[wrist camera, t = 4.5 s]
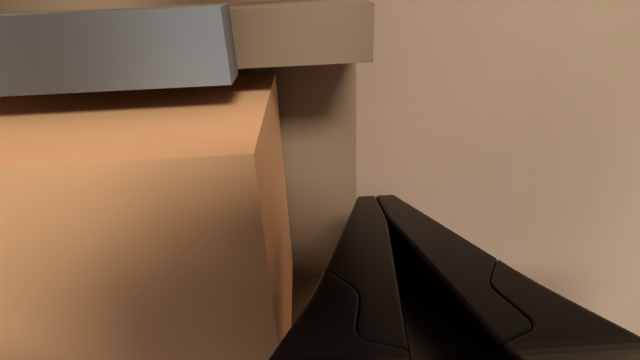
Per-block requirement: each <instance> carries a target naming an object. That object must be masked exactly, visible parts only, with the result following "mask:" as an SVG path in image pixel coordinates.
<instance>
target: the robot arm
mask: <svg viewBox="0 0 640 360" xmlns="http://www.w3.org/2000/svg"><path fill="white" fill-rule="evenodd" d="M269 360H640V336H638V335H636V334H634V333H632V332H630V331H628V330H626V329H624V328H622V327H620V326H618V325H616V324H615V323H613V322H611V321H609V320H607V319H605V318H603V317H601V316H599V315H597V314H595V313H593V312H591V311H589V310H588V309H586V308H584V307H582V306H580V305H578V304H576V303H574V302H572V301H570V300H568V299H566V298H564V297H563V296H561V295H559V294H557V293H555V292H553V291H551V290H549V289H548V288H546V287H544V286H542V285H540V284H538V283H537V282H535V281H533V280H531V279H530V278H528V277H526V276H525V275H523V274H521V273H520V272H518V271H516V270H514V269H513V268H511V267H510V266H508V265H506V264H505V263H503V262H501V261H500V260H497V259H496V258H495V257H493V256H491V255H490V254H488V253H487V252H485V251H483V250H482V249H480V248H479V247H477V246H475V245H474V244H472V243H470V242H469V241H467V240H466V239H464V238H462V237H461V236H459V235H457V234H456V233H454V232H453V231H451V230H449V229H448V228H446V227H444V226H443V225H441V224H440V223H438V222H436V221H435V220H433V219H432V218H430V217H428V216H427V215H425V214H423V213H422V212H420V211H419V210H417V209H415V208H414V207H412V206H410V205H409V204H407V203H406V202H404V201H402V200H401V199H399V198H397V197H396V196H394V195H379V196H377V197H375V196H361V197H358V198H357V200H356V203H355V205H354V207H353V209H352V211H351V213H350V216H349V218H348V220H347V222H346V224H345V227H344V229H343V231H342V233H341V235H340V237H339V240H338V242H337V244H336V246H335V248H334V250H333V253H332V255H331V257H330V259H329V261H328V263H327V266H326V268H325V271H324V272H323V274H322V276H321V278H320V280H319V283H318V284H317V286H316V288H315V290H314V292H313V294H312V296H311V298H310V299H309V301H308V303H307V304H306V306H305V307H304V309H303V310H302V312H301V313H300V315H299V316H298V318H297V319H296V321H295V322H294V324H293V325H292V326H291V328H290V329H289V331H288V332H287V334H286V335H285V337H284V338H283V339H282V341H281V342H280V344H279V345H278V347H277V348H276V349H275V351H274V352H273V354H272V355H271V357H270V358H269Z"/></svg>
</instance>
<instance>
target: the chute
mask: <svg viewBox="0 0 640 360" xmlns="http://www.w3.org/2000/svg"><path fill="white" fill-rule="evenodd" d="M373 27H374V3H372V2H370V1H367V0H0V97H4V96H24V95H44V94H63V93H83V92H102V91H122V90H142V89H161V88H181V87H201V86H220V85H232V84H233V82H234V80H235V79H236V77H237V76H238V74H253V73H273V72H275V74H276V85H277V96H278V107H279V118H280V129H281V139H282V150H283V161H284V172H285V183H286V194H287V205H288V216H289V226H290V237H291V248H292V259H293V281H292V319H291V326H292V325H293V324H294V322H295V321H296V319H297V318H298V316H299V315H300V313H301V312H302V310H303V309H304V307H305V306H306V304H307V303H308V301H309V299H310V298H311V296H312V294H313V292H314V290H315V288H316V286H317V284H318V283H319V280H320V278H321V276H322V274H323V272H324V271H325V268H326V266H327V263H328V261H329V259H330V257H331V255H332V253H333V250H334V248H335V246H336V244H337V242H338V240H339V237H340V235H341V233H342V231H343V229H344V227H345V224H346V222H347V220H348V218H349V216H350V213H351V211H352V209H353V207H354V205H355V199H356V63H365V62H373Z"/></svg>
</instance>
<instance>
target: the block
mask: <svg viewBox="0 0 640 360" xmlns="http://www.w3.org/2000/svg"><path fill="white" fill-rule="evenodd" d="M292 281H293V259H292V248H291V237H290V226H289V216H288V205H287V194H286V183H285V172H284V161H283V150H282V139H281V129H280V118H279V107H278V96H277V85H276V74H275V72H273V73H253V74H238V76H237V77H236V79H235V80H234V82H233V84H232V85H220V86H201V87H181V88H161V89H142V90H122V91H102V92H83V93H63V94H44V95H24V96H4V97H0V360H269V358H270V357H271V355H272V354H273V352H274V351H275V349H276V348H277V347H278V345H279V344H280V342H281V341H282V339H283V338H284V337H285V335H286V334H287V332H288V331H289V329H290V328H291V319H292Z"/></svg>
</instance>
